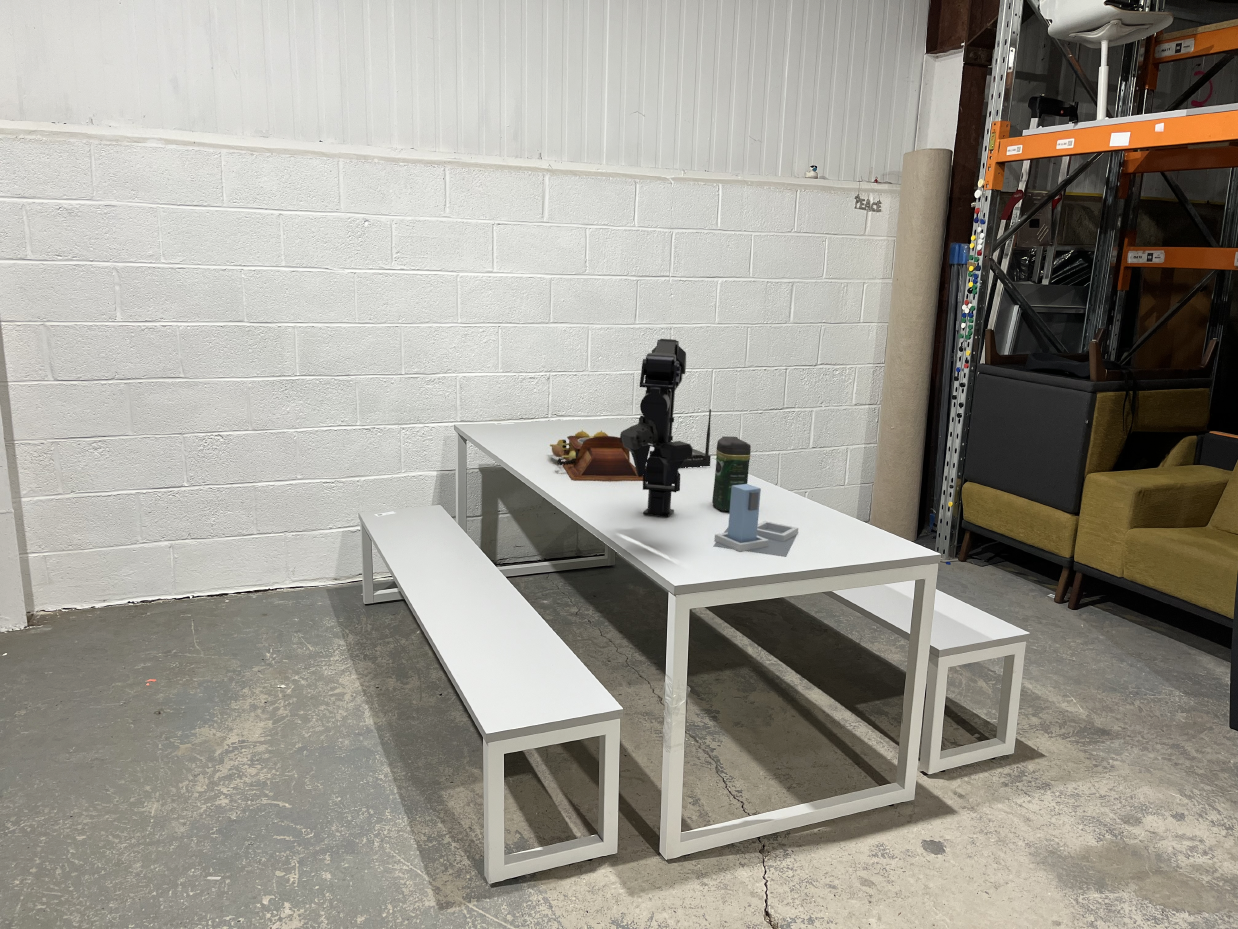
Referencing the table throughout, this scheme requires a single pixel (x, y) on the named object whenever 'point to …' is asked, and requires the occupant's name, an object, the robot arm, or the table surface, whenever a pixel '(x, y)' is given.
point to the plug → (744, 513)
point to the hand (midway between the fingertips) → (653, 481)
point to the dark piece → (699, 453)
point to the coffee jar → (730, 469)
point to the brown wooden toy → (595, 458)
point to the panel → (772, 546)
